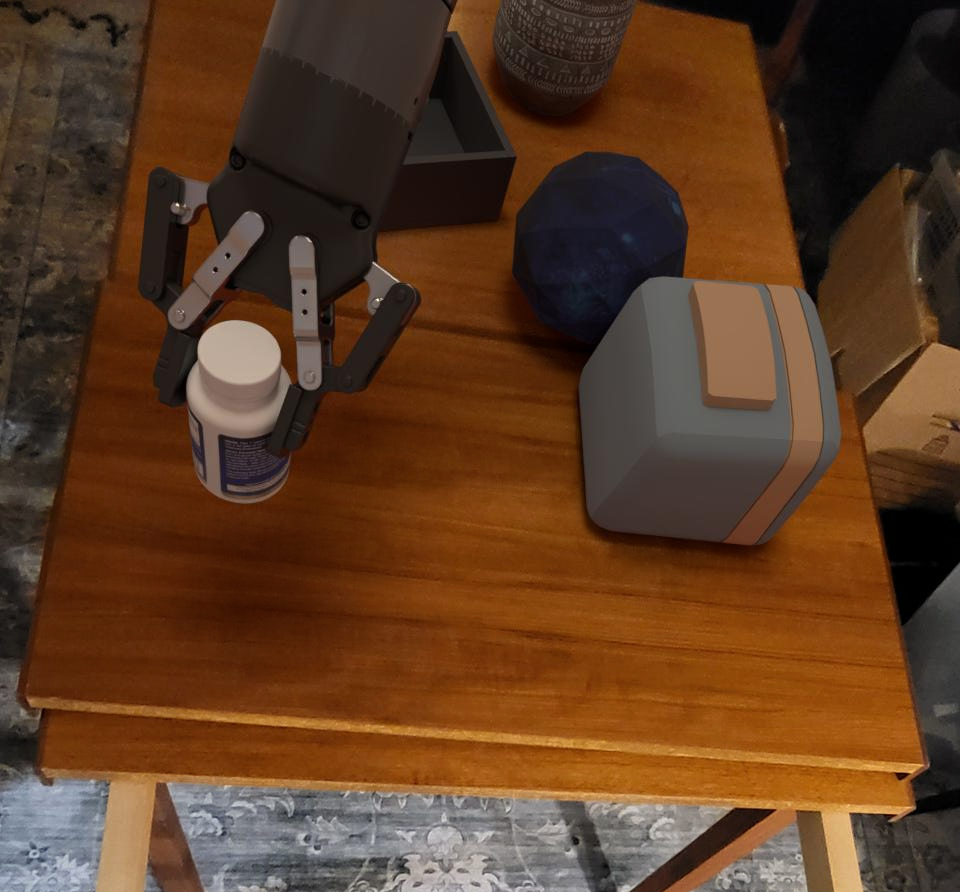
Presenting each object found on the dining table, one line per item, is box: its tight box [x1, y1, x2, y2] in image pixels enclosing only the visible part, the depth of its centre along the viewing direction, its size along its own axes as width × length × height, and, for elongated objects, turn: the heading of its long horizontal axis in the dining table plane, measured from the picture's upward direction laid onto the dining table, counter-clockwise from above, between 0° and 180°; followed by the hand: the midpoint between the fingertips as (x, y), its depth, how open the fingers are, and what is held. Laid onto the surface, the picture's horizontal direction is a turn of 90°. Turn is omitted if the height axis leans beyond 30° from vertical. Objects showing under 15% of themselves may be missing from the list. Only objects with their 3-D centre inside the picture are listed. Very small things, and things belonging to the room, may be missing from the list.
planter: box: [491, 0, 638, 117], centre depth 90 cm, size 12×12×13 cm
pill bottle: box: [186, 319, 293, 504], centre depth 51 cm, size 5×5×10 cm
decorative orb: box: [511, 150, 690, 346], centre depth 79 cm, size 14×15×15 cm
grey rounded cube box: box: [578, 277, 842, 546], centre depth 73 cm, size 16×16×16 cm
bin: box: [378, 30, 518, 232], centre depth 84 cm, size 16×16×7 cm
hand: (225, 428), depth 49 cm, fingers closed on pill bottle, 5 cm apart
